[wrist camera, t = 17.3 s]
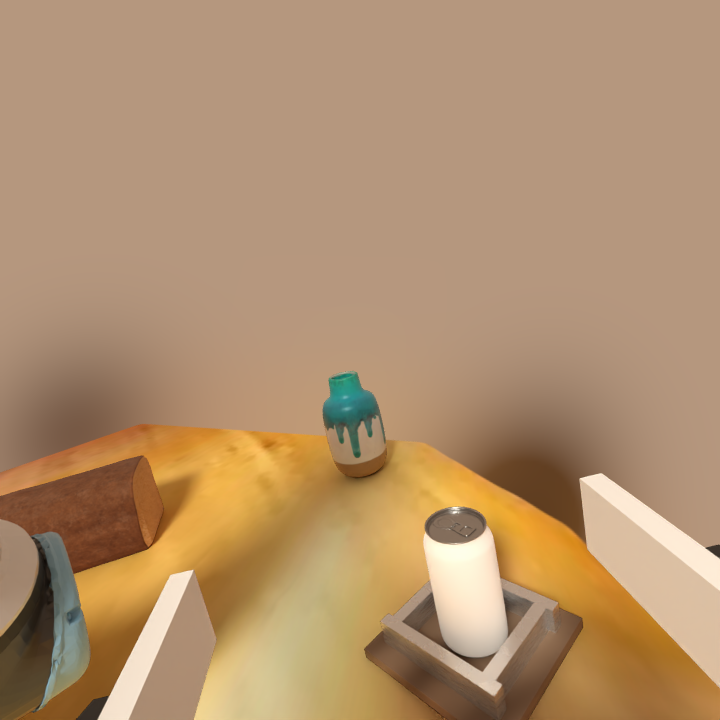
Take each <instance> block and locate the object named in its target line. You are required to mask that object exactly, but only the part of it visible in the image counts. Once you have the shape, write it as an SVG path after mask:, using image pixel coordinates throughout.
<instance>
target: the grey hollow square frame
mask: <svg viewBox="0 0 720 720" xmlns="http://www.w3.org/2000/svg"><path fill="white" fill-rule="evenodd" d="M500 579H501V586H502V592H503V598H504V604H505V609H506V610H508V611H510V612H512V613H514V614H517V615H519V616H521V617H523V618H522V619H521V621H520V622H519V623H518V625H517V626H516V628H515V629H514V630H513V632H512V633H511V634H510V636H509V637H508V638H507V640H506V641H505V642H504V644H503V645H502V646H501V648H500V649H499V651H498V652H497V653H496V655H495V656H494V657H493V659H492V660H491V661H490V663H489V664H488V665H487V667H486V668H485V670H484V671H483V672H481V671H480V670H478V669H476V668H475V667H473V666H472V665H470V664H468V663H467V662H465V661H464V660H462V659H460V658H459V657H457V656H456V655H454V654H452V653H451V652H449V651H448V650H446V649H445V648H443V647H441V646H440V645H438V644H437V643H435V642H433V641H432V640H430V639H429V638H427V637H425V636H424V635H422V634H421V633H419V632H417V631H418V630H419V629H420V628H421V627H422V626H423V625H424V624H425V623H426V622H427V620H428V619H429V618H430V617H431V616H432V615H433V614H434V613H435V612H436V606H435V601H434V596H433V591H432V586H431V581H430V580H429V581H428V582H427V583H426V584H425V585H424V586H423V587H422V588H421V589H420V590H419V591H418V592H417V593H416V594H415V595H414V596H413V597H412V598H411V599H410V600H409V601H408V602H407V603H406V604H405V605H404V606H403V607H402V608H401V609H400V610H399V611H398V612H397V613H396V614H395V615H394V616H392V615H390V614H389V613H388V614H387V615H386V616H385V617H384V618H383V619H382V620H381V621H380V622H381V626H382V631H383V635H384V639H385V642H386V643H387V644H388V645H390V646H391V647H393V648H394V649H396V650H397V651H398V652H400V653H401V654H403V655H404V656H406V657H407V658H408V659H410V660H411V661H413V662H414V663H416V664H417V665H418V666H420V667H421V668H423V669H424V670H425V671H427V672H428V673H430V674H431V675H433V676H434V677H435V678H437V679H438V680H440V681H441V682H443V683H444V684H445V685H447V686H448V687H450V688H451V689H453V690H454V691H455V692H457V693H458V694H460V695H461V696H463V697H464V698H465V699H467V700H468V701H470V702H471V703H472V704H474V705H475V706H477V707H478V708H480V709H481V710H482V711H484V712H485V713H487V714H488V715H490V716H491V717H492V718H494V719H495V720H500V719H501V718H502V716H503V715H504V713H505V712H506V710H507V709H506V704H505V697H506V695H507V694H508V692H509V691H510V689H511V688H512V686H513V685H514V683H515V682H516V680H517V679H518V677H519V676H520V674H521V673H522V671H523V670H524V668H525V667H526V665H527V664H528V662H529V661H530V659H531V657H532V656H533V654H534V653H535V651H536V650H537V648H538V647H539V645H540V644H541V642H542V641H543V639H544V638H545V636H546V635H547V633H548V632H549V630H550V631H552V632H554V633H556V632H557V631H558V629H559V628H560V626H561V619H560V611H559V604H558V602H556V601H553V600H551V599H549V598H546V597H544V596H542V595H539V594H537V593H535V592H532V591H530V590H528V589H525V588H523V587H521V586H519V585H516V584H514V583H512V582H509V581H507V580H505V579H502V578H500Z"/></svg>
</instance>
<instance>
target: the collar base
mask: <svg viewBox="0 0 720 720" xmlns="http://www.w3.org/2000/svg"><path fill="white" fill-rule="evenodd" d="M505 611H506V617H507V624H508V637H509V636H510V634H511V633H512V632H513V630H514V629H515V628H516V626H517V625H518V623H519V622H520V621H521V619H522V618H523V617H521V616H519V615H517V614H514V613H512V612H510V611H508V610H506V609H505ZM559 611H560V619H561V626H560V628H559V629H558V631H557V632H556V633H554V632H552V631H550V630H549V632H548V633H547V635H546V636H545V638H544V639H543V641H542V642H541V644H540V645H539V647H538V648H537V650H536V651H535V653H534V654H533V656H532V657H531V659H530V661H529V662H528V664H527V665H526V667H525V668H524V670H523V671H522V673H521V674H520V676H519V677H518V679H517V680H516V682H515V683H514V685H513V686H512V688H511V689H510V691H509V692H508V694H507V695H506V697H505V704H506V709H507V710H506V712H505V713H504V715H503V716H502V718H501V719H500V720H528V719H529V717H530V715H531V714H532V712H533V710H534V709H535V707H536V705H537V704H538V702H539V700H540V699H541V697H542V695H543V693H544V692H545V690H546V688H547V687H548V685H549V683H550V682H551V680H552V678H553V677H554V675H555V673H556V672H557V670H558V668H559V667H560V665H561V663H562V662H563V660H564V658H565V656H566V655H567V653H568V651H569V650H570V648H571V646H572V645H573V643H574V641H575V640H576V638H577V636H578V635H579V633H580V631H581V630H582V628H583V622H582V618H581V617H578V616H576V615H574V614H571V613H569V612H567V611H565V610H562V609H560V608H559ZM417 632H419V633H421V634H422V635H424V636H425V637H427V638H429V639H430V640H432V641H433V642H435V643H437V644H438V645H440V646H441V647H443V648H445V649H446V650H448V651H449V652H451V653H452V654H454V655H456V656H457V657H459V658H460V659H462V660H464V661H465V662H467V663H468V664H470V665H472V666H473V667H475V668H476V669H478V670H480V671H481V672H483V671H484V670H485V668H486V667H487V665H488V664H489V663H490V661H491V660H492V659H493V657H494V656H495V655H496V653H497V652H498V651H499V650H498V651H497V652H496V653H494V654H492V655H490V656H488V657H484V658H469V657H465V656H462V655H460V654H458V653H456V652H455V651H453V650H452V649H451V648H449V647H448V646H447V644H446V643H445V641H444V640H443V637H442V634H441V630H440V626H439V621H438V616H437V611H436V612H435V613H434V614H433V615H432V616H431V617H430V618H429V619H428V620H427V622H426V623H425V624H424V625H423V626H422V627H421V628H420V629H419V630H418V631H417ZM508 637H507V638H508ZM364 650H365V654H366V657H367V658H368V659H370V660H371V661H372V662H373V663H375V664H376V665H377V666H379V667H380V668H381V669H382V670H384V671H385V672H386V673H388V674H389V675H390V676H392V677H393V678H394V679H395V680H397V681H398V682H399V683H401V684H402V685H403V686H404V687H406V688H407V689H408V690H410V691H411V692H412V693H414V694H415V695H416V696H417V697H419V698H420V699H421V700H423V701H424V702H425V703H426V704H428V705H429V706H430V707H432V708H433V709H434V710H436V711H437V712H438V713H439V714H441V715H442V716H443V717H445V718H446V719H447V720H495V719H494V718H492V717H491V716H490V715H488V714H487V713H485V712H484V711H482V710H481V709H480V708H478V707H477V706H475V705H474V704H472V703H471V702H470V701H468V700H467V699H465V698H464V697H463V696H461V695H460V694H458V693H457V692H455V691H454V690H453V689H451V688H450V687H448V686H447V685H445V684H444V683H443V682H441V681H440V680H438V679H437V678H435V677H434V676H433V675H431V674H430V673H428V672H427V671H425V670H424V669H423V668H421V667H420V666H418V665H417V664H416V663H414V662H413V661H411V660H410V659H408V658H407V657H406V656H404V655H403V654H401V653H400V652H398V651H397V650H396V649H394V648H393V647H391V646H390V645H388V644H387V643H386V642H385V639H384V635H383V631H382V632H381V633H380V634H379V635H378V636H377V637H376V638H375V639H374V640H373V641H372V642H371V643H370V644H369V645H368V646H367V647H366V648H365V649H364Z"/></svg>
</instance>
